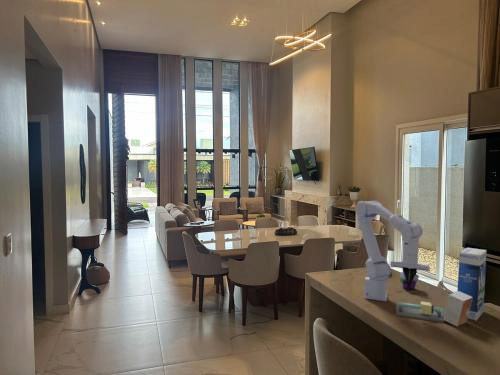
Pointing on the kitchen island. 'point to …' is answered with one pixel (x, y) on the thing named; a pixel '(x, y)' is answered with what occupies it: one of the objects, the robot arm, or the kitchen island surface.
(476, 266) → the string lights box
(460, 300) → the small box
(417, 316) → the teal rod on plate
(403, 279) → the potion bottle
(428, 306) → the sleeve
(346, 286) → the kitchen island surface
